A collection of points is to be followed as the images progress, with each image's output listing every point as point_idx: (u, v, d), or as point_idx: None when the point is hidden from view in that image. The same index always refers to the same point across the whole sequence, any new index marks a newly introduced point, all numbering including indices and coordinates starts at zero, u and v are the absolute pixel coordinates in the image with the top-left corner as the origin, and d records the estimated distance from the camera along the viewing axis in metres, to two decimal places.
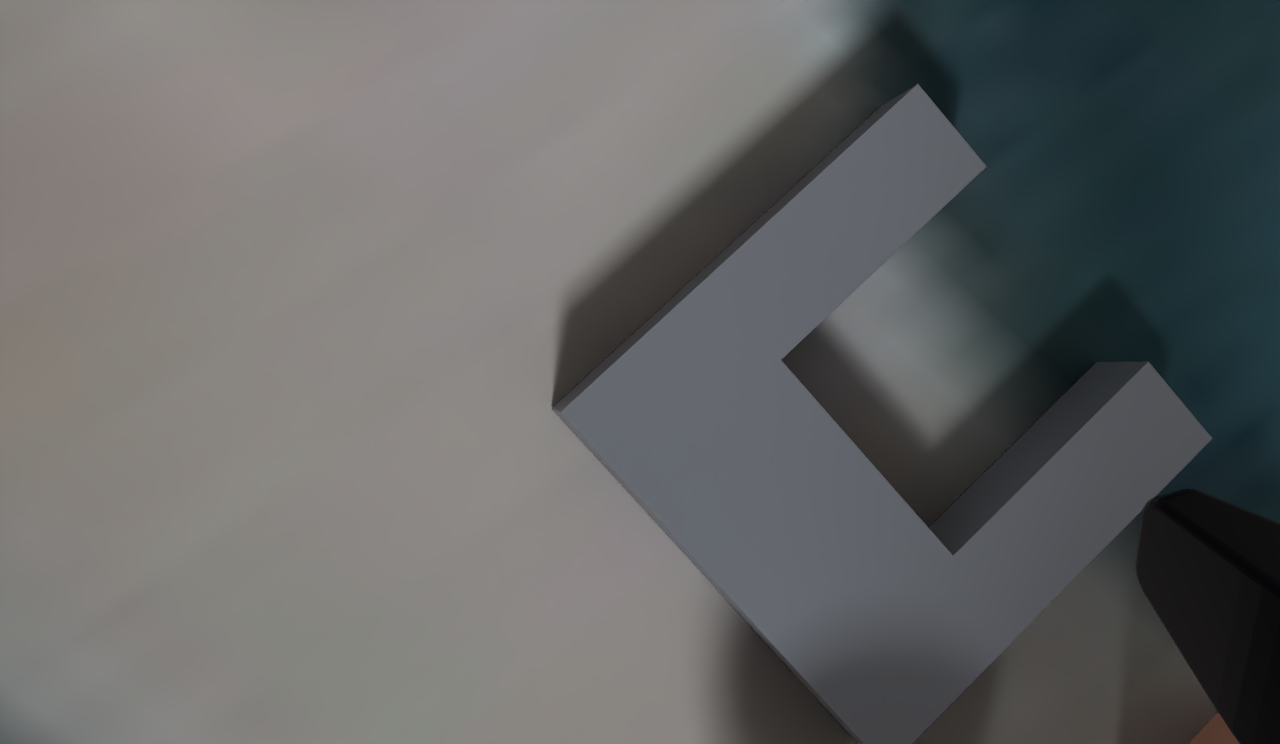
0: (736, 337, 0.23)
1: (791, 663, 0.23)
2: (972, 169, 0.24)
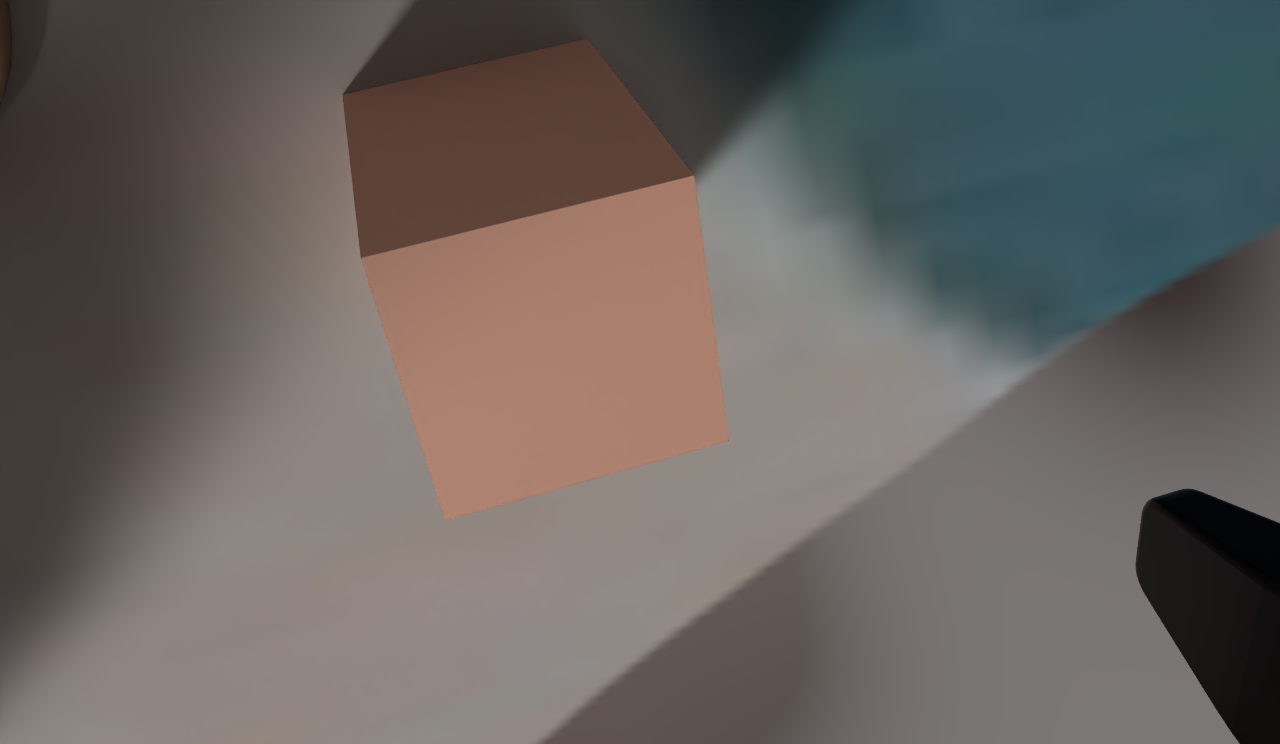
0: None
1: None
2: None
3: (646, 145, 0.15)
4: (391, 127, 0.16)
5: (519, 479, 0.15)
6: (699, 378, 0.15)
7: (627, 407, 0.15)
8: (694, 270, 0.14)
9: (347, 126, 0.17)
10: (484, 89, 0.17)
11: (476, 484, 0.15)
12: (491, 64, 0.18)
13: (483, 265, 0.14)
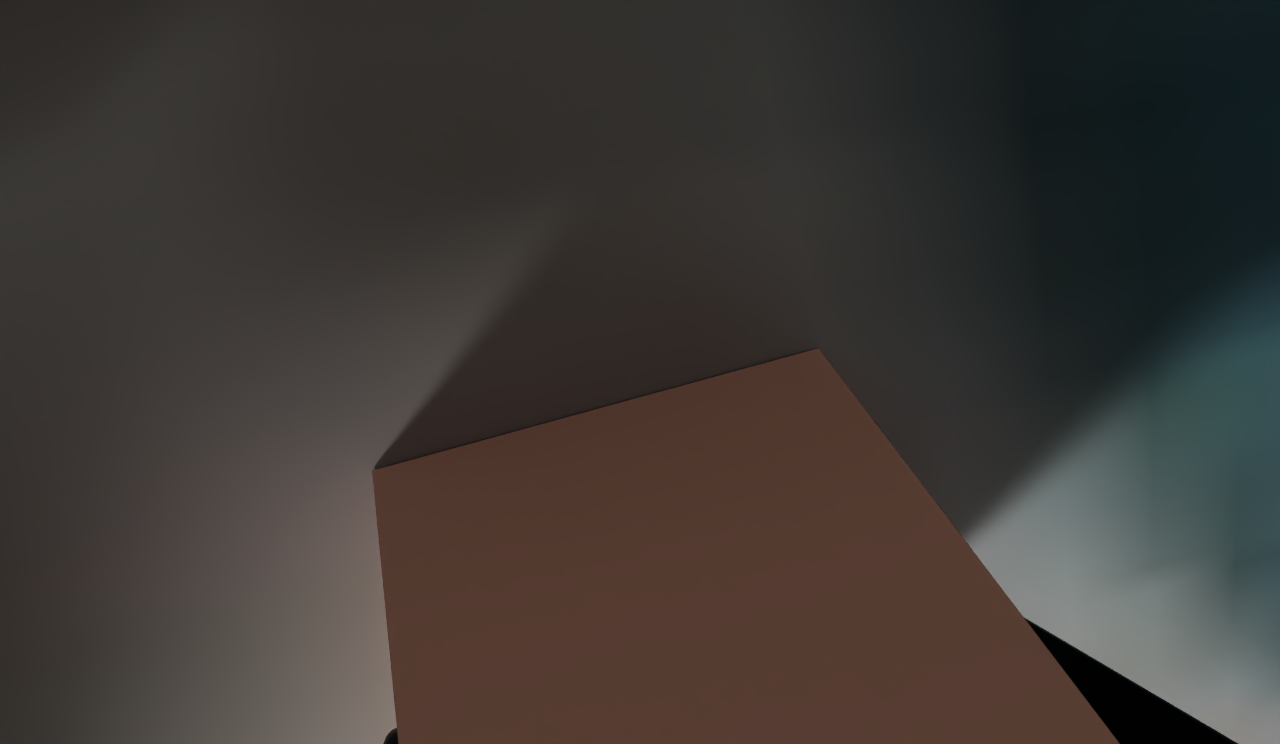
0: None
1: None
2: None
3: None
4: (478, 610, 0.08)
5: None
6: None
7: None
8: None
9: (386, 591, 0.08)
10: (652, 494, 0.09)
11: None
12: (649, 410, 0.10)
13: None
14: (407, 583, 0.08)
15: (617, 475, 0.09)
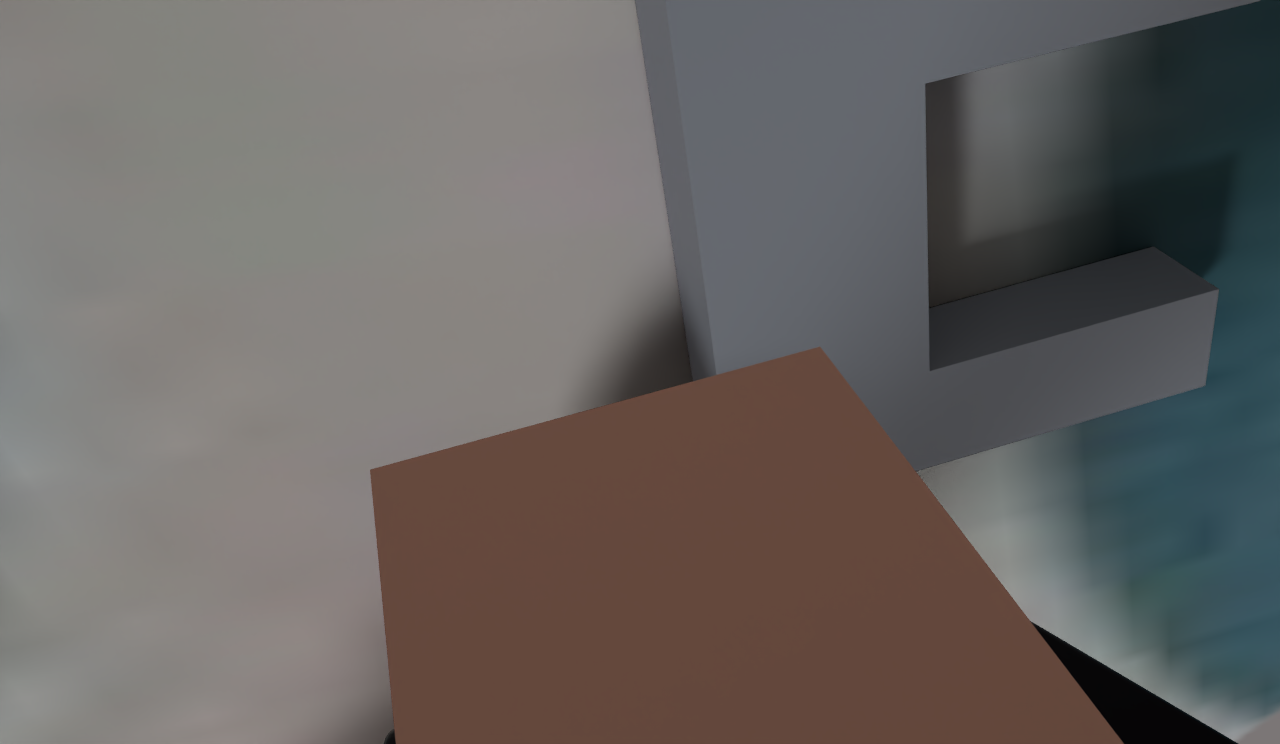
0: (901, 29, 0.18)
1: None
2: None
3: None
4: (476, 611, 0.08)
5: None
6: None
7: None
8: None
9: (384, 591, 0.08)
10: (653, 493, 0.09)
11: None
12: (648, 408, 0.10)
13: None
14: (405, 583, 0.08)
15: (617, 474, 0.09)
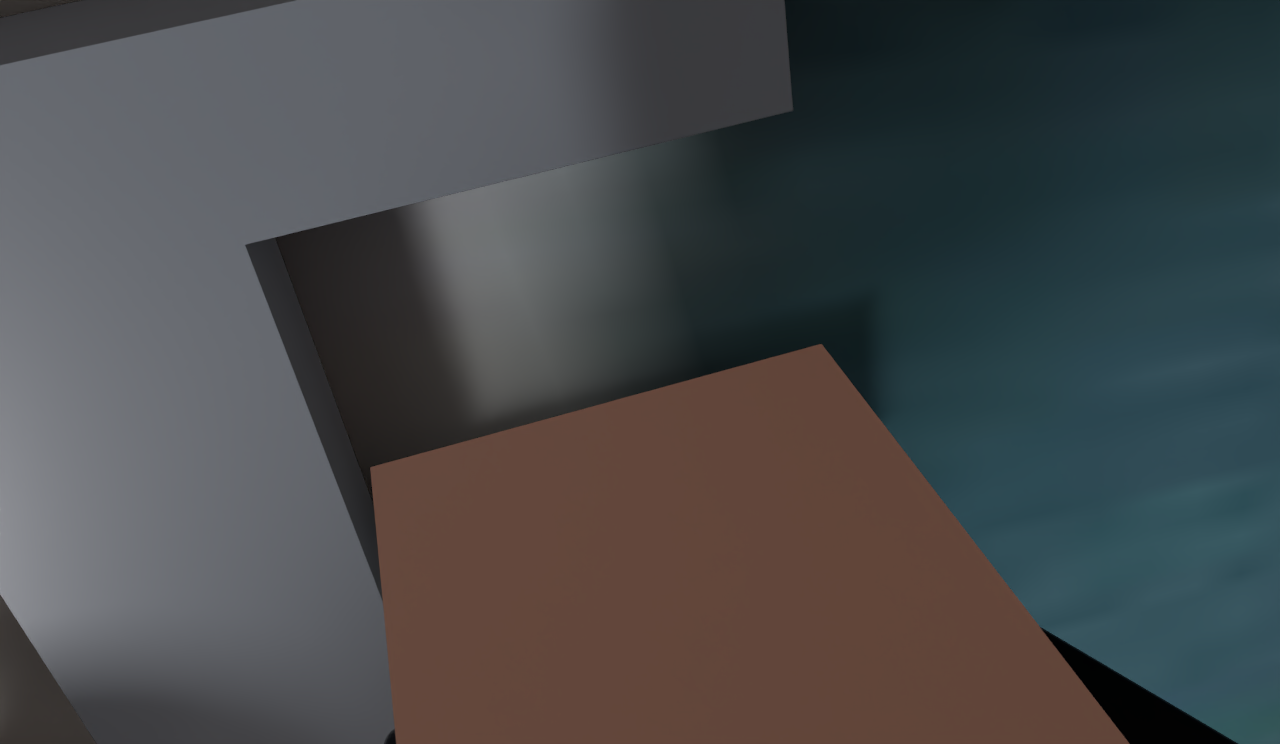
0: (172, 168, 0.11)
1: (49, 664, 0.14)
2: (767, 102, 0.12)
3: None
4: (475, 609, 0.08)
5: None
6: None
7: None
8: None
9: (384, 589, 0.08)
10: (653, 491, 0.09)
11: None
12: (649, 406, 0.10)
13: None
14: (405, 581, 0.08)
15: (618, 472, 0.09)
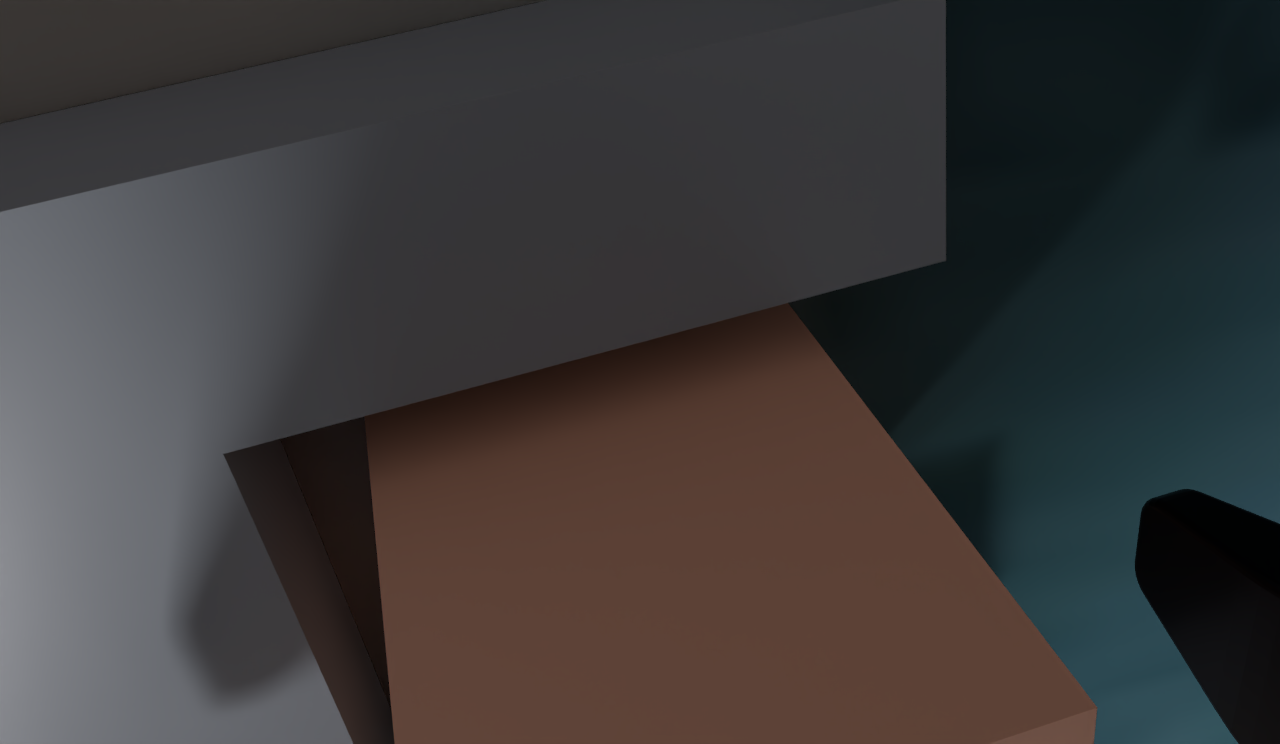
0: (122, 365, 0.08)
1: None
2: (914, 251, 0.09)
3: (953, 582, 0.08)
4: (447, 464, 0.09)
5: None
6: None
7: None
8: None
9: (370, 452, 0.10)
10: (599, 374, 0.10)
11: None
12: None
13: None
14: (388, 446, 0.10)
15: None
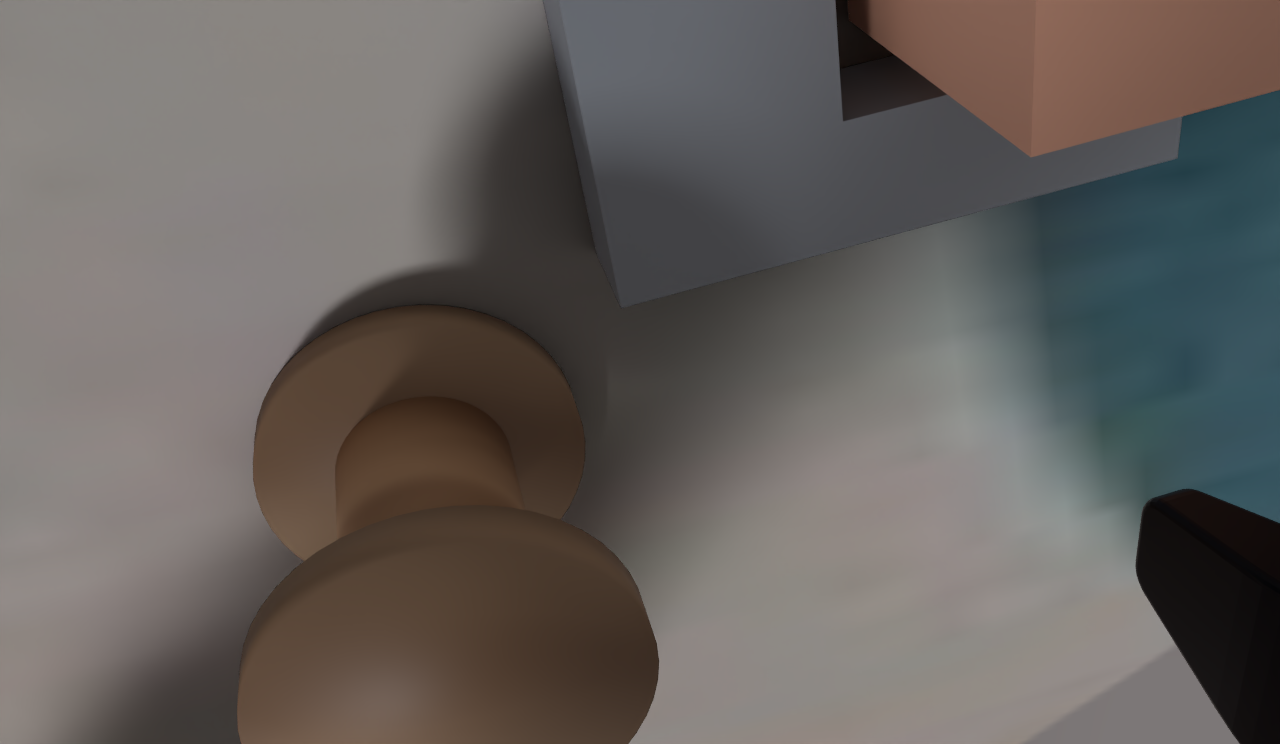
0: None
1: (587, 136, 0.17)
2: None
3: None
4: None
5: (1111, 112, 0.14)
6: None
7: (1237, 28, 0.14)
8: None
9: None
10: None
11: (1070, 114, 0.14)
12: None
13: None
14: None
15: None
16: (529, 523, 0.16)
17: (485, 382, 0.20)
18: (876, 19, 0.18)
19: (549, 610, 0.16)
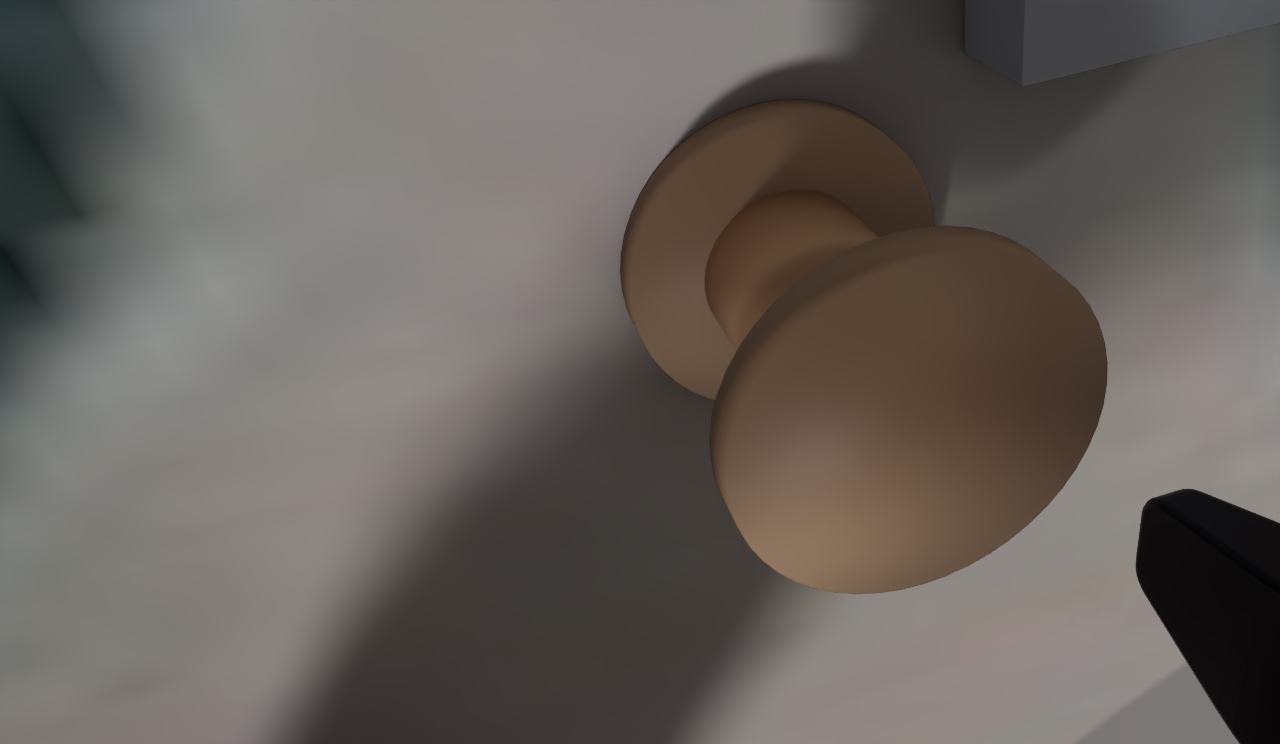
0: None
1: None
2: None
3: None
4: None
5: None
6: None
7: None
8: None
9: None
10: None
11: None
12: None
13: None
14: None
15: None
16: (1014, 245, 0.16)
17: (858, 177, 0.21)
18: None
19: (1027, 335, 0.16)
